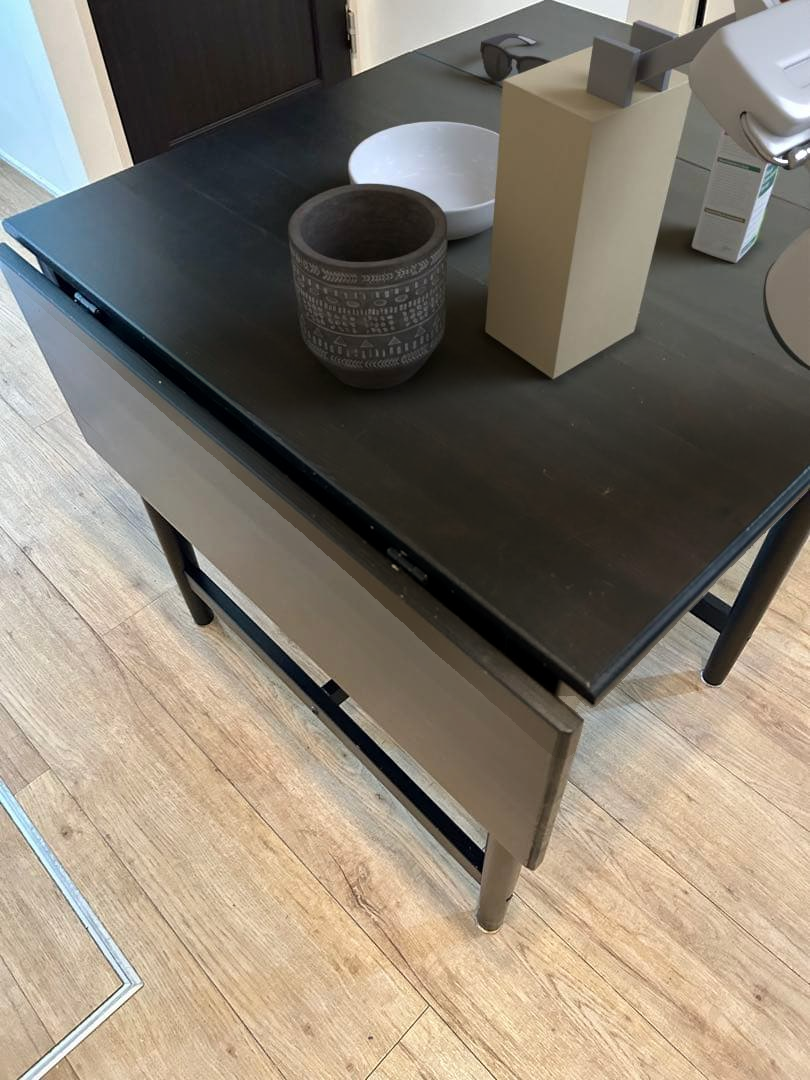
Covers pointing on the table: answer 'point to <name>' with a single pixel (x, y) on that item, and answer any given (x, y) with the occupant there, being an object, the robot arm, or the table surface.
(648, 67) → the lever
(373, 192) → the planter
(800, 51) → the robot arm
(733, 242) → the syrup box
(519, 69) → the sunglasses
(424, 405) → the table surface
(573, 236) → the lever stand
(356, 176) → the serving bowl
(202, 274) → the table surface
